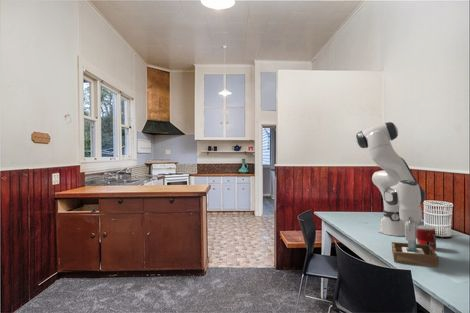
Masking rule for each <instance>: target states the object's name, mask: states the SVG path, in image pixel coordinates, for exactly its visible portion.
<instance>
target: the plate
mask: <svg viewBox="0 0 470 313" xmlns="http://www.w3.org/2000/svg"><path fill="white" fill-rule="evenodd" d="M416 250H417V252H408V247H402V252H406V253H416V254H424V252H423V250H422V249H419V248H416Z"/></svg>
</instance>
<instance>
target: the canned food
mask: <svg viewBox="0 0 470 313" xmlns="http://www.w3.org/2000/svg"><path fill="white" fill-rule="evenodd" d="M436 237H437V234H436V227H434V226H431V225H425V224H424V225H422V224H421V225H419V224H418V228H417V234H416V244H423V245H431V247H432V248H433V250H434V251H437V238H436Z"/></svg>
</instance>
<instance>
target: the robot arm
mask: <svg viewBox="0 0 470 313" xmlns="http://www.w3.org/2000/svg"><path fill="white" fill-rule="evenodd" d="M398 136H399V130H398V127H397V125H396V124H395V123H394V122H391V121H389V122H385V123H381V124H376V125H374V126H372V127H368V128H366V129H364V130H361V131H358V132H357V133H356V135H355V141H356V145H357V146H359V148H362V149H368V151H369V154H370V157H371V159H372V161H373V162H374V163H375V164H376V166H377V167H378V168H380V169H382V170H378V171H375V172H374V173H373V174H372V177H371V181H372V183H373V184H374V185H375V186H376V187H377V188H378V190H379V192H380V193H381V196H382V199H383V200H382V202H383V211H382V213H383V217H382V218H381V219H380V228H379V229H378V231H377V232H378V233H381V234H385V235H388V236H395V237H404V238H405V241H407V242H408V241H409V246H410V247H411V248H414V241H415V240H416V241H417V228H418V226H419V224H420V222H422V221H423V211H422V210H423V209H422V207H421V205H422V204H423V203H424V202H425V200H426V197H427V196H426V195H427V194H426V192H425V189H423V187H422V186H421V185H420V184H419V182H418V181H417V179H416V178H415V175H414V174H413V172H412V170H411V169H410V167H409V165H408V163H407V162H406V160H405V159H404V158H402V157H401V156H400V155H399V154H398V153H397V152H396V151H395V149H394V147H393V145H392V142H391V141H393V140H395V139H397V137H398Z"/></svg>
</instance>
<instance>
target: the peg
mask: <svg viewBox="0 0 470 313" xmlns="http://www.w3.org/2000/svg"><path fill="white" fill-rule="evenodd" d="M407 243H408V252H417V250H416V244H417V239H416V240H415V241H414V248H411V247H410V246H409V241H407Z"/></svg>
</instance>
